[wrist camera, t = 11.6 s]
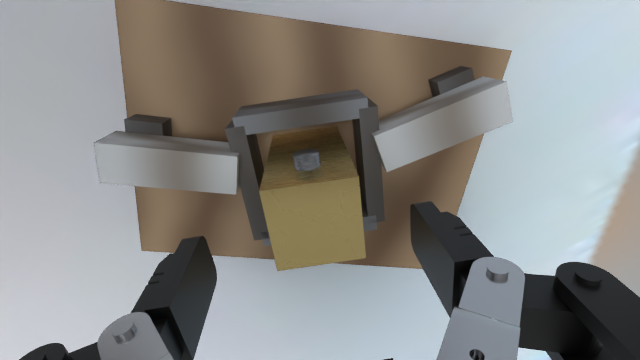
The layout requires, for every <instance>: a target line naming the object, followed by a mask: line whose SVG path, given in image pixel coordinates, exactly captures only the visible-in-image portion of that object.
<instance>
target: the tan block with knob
mask: <svg viewBox="0 0 640 360" xmlns="http://www.w3.org/2000/svg"><path fill="white" fill-rule="evenodd" d="M259 193H260V197H261V202H262V206H263V210H264V215H265V219H266V223H267V228H268V232H269V236H270V241H271V245H272V249H273V254H274V258H275V262H276V267H277V271H281V270H287V269H294V268H301V267H308V266H315V265H322V264H329V263H336V262H343V261H349V260H356V259H363V258H366V252H365V240H364V229H363V217H362V206H361V194H360V183H359V176H358V174H357V171H356V169H355V167H354V164H353V162H352V160H351V157H350V155H349V153H348V150H347V148H346V146H345V144H344V141H343V139H342V137H341V134H340V132H339V130H338V127H337V126H333V127H326V128H319V129H312V130H305V131H298V132H291V133H285V134H278V135H273V138H272V142H271V146H270V150H269V154H268V158H267V162H266V166H265V170H264V174H263V178H262V182H261V186H260V190H259Z"/></svg>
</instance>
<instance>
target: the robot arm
mask: <svg viewBox="0 0 640 360" xmlns="http://www.w3.org/2000/svg"><path fill="white" fill-rule="evenodd" d="M410 231H411V244H412V248H413V251H414V253H415V255H416V257H417V259H418V261H419V262H420V264H421V266H422V268H423V270H424V271H425V273H426V275H427V277H428V279H429V280H430V282H431V284H432V286H433V288H434V290H435V291H436V293H437V295H438V297H439V299H440V300H441V302H442V304H443V306H444V308H445V309H446V311H447V313H448V315H449V317H450V321H449V324H448V327H447V330H446V333H445V336H444V339H443V342H442V345H441V348H440V351H439V354H438V357H437V360H517V354H518V347H520V348H527V349H535V350H542V351H546V352H547V354H548V355H549V356H550V358H551V359H552V360H640V297H638V296H637V295H636V294H635V293H634V292H632V291H631V290H630V289H629V288H628V287H626V286H625V285H624V284H623V283H621V282H620V281H619V280H618V279H617V278H615V277H614V276H613V275H612V274H610V273H609V272H607V271H605V270H603V269H601V268H599V267H596V266H593V265H590V264H586V263H581V262H568V263H564V264H561V265H560V266H559V267H558V268H557V270H556V274H555V276H547V275H534V274H525V273H523V271H522V270H521V269H520V267H518V266H517V265H516V264H514V263H512V262H510V261H508V260H506V259H502V258H498V257H494V256H493V255H492V254H491V253H490V252H489V251H488V249H487V248H486V247H485V246H484V245H483V244H482V243H481V242H480V241H479V239H478V238H477V237H476V236H475V235H474V234H472V232H471V230H470V229H469V228H467V227H466V225H465V224H464V223H463V222H462V220H461V219H460V218H459V217H457V216H455V215H453V214H451V213H449V212H440V211H439V209H438V208H437V207H436V206H435V205H434V203H433V202H432V201H427V202H421V203H414V204H411V206H410ZM216 281H217V273H216V267H215V264H214V261H213V258H212V255H211V253H210V250H209V247H208V244H207V241H206V239H205V237H204V236H198V237H191V238H185V239H182V240H181V242H180V244H179V246H178V247H177V249H176V251H175V253H173V254H169V255H168V256H167V257H166V258H165V259H164V260H163V261H161V262H160V263H159V265H158V266H157V268H156V270H155V272H154V273H153V276H152V277H151V279H150V280H149V282H148V285H147V286H146V287H145V289H144V291H143V293H142V294H141V296H140V298H139V300H138V301H137V303H136V305H135V307H134V308H133V310H132V312H131V313H130V314H127V315H125V316H123V317H121V318H119V319H117V320H116V321H114V322H113V323H111V324H110V325H109V326H108V327H107V328H106V329H105V330H104V331H103V332H102V334H101V335H100V337H99V339H98V342H96V343H94V344H91V345H89V346H86V347H84V348H81V349H78V350H76V351H73V352H71V353H68V351H67V350H66V348H65V347H64V345H62V344H60V343H51V344H47V345H44V346H41V347H39V348H37V349H35V350H33V351H31V352H29V353H28V354H26V355H25V356H23V357H22V358H21V359H19V360H193V359H194V356H195V352H196V349H197V346H198V342H199V339H200V336H201V333H202V329H203V326H204V323H205V319H206V316H207V313H208V309H209V306H210V303H211V299H212V296H213V293H214V289H215V286H216ZM384 360H393V358H391V359H384Z"/></svg>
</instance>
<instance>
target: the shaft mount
mask: <svg viewBox="0 0 640 360" xmlns="http://www.w3.org/2000/svg"><path fill="white" fill-rule="evenodd" d="M115 7H116V17H117V26H118V35H119V45H120V54H121V63H122V72H123V82H124V91H125V100H126V110H127V118H126V119H124V122H125V131H126V132H122V131H115V132H113V133H111V134H109V135H107V136H105V137H104V138H102V139H100V140H98V141H96V142H94V149H95V156H96V162H97V169H98V175H99V182H100V183H105V184H117V185H128V186H135V193H136V203H137V212H138V221H139V231H140V240H141V249H142V251H154V252H170V253H175V251H176V249H177V247H178V246H179V244H180V242H181V240H182V239H185V238H191V237H198V236H204V237H205V239H206V241H207V244H208V247H209V250H210V253H211V255H216V256H231V257H247V258H262V259H275V258H274V254H273V249H272V245H271V241H270V236H269V232H268V228H267V223H266V219H265V215H264V210H263V206H262V202H261V197H260V193H259V190H260V186H261V182H262V178H263V174H264V170H265V166H266V162H267V158H268V154H269V150H270V146H271V142H272V138H273V135H278V134H285V133H291V132H298V131H305V130H312V129H319V128H326V127H333V126H337V127H338V130H339V132H340V134H341V137H342V139H343V141H344V144H345V146H346V148H347V150H348V153H349V155H350V157H351V160H352V162H353V164H354V167H355V169H356V171H357V174H358V176H359V183H360V194H361V206H362V217H363V229H364V240H365V252H366V258H363V259H356V260H349V261H343V262H336V263H339V264H355V265H370V266H385V267H401V268H416V269H423V268H422V266H421V264H420V262H419V261H418V259H417V257H416V255H415V253H414V251H413V248H412V244H411V231H410V206H411V204H414V203H421V202H427V201H432V202H433V203H434V205H435V206H436V207H437V208H438V209H439V211H440V212H449V213H451V214H453V215H455V216H456V215H457V212H458V209H459V206H460V203H461V200H462V197H463V194H464V191H465V188H466V185H467V182H468V180H469V177H470V174H471V171H472V168H473V165H474V162H475V159H476V156H477V153H478V150H479V147H480V144H481V141H482V138H483V135H484V133H486V132H488V131H491V130H493V129H496V128H498V127H501V126H503V125H506V124H508V123H511V122H513V118H512V112H511V106H510V100H509V94H508V88H507V82H506V81H502V78H503V76H504V73H505V70H506V67H507V64H508V61H509V58H510V55H511V52H512V51H511V50H504V49H497V48H490V47H483V46H476V45H469V44H462V43H455V42H449V41H442V40H435V39H428V38H421V37H414V36H407V35H400V34H393V33H386V32H379V31H373V30H366V29H359V28H352V27H345V26H338V25H331V24H324V23H317V22H310V21H304V20H297V19H290V18H283V17H276V16H269V15H262V14H255V13H248V12H241V11H234V10H228V9H221V8H214V7H207V6H200V5H193V4H186V3H179V2H172V1H165V0H115Z"/></svg>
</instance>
